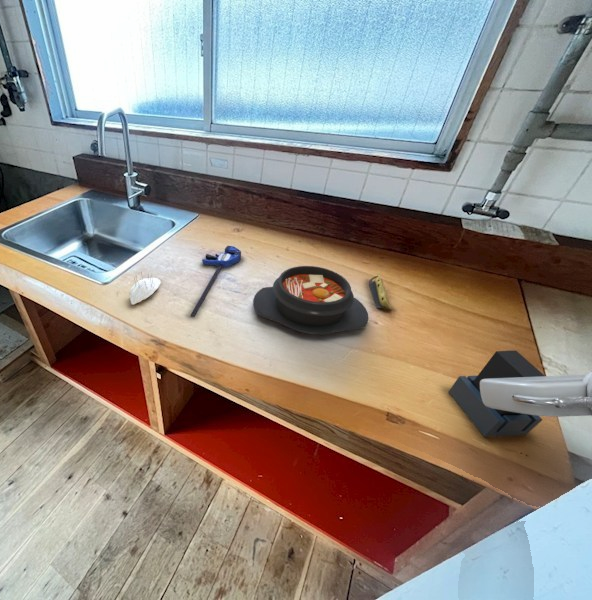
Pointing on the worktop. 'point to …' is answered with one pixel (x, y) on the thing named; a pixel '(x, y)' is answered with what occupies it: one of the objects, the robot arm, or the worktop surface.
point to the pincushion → (143, 289)
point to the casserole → (311, 302)
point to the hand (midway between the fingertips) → (517, 385)
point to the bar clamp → (219, 267)
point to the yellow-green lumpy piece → (379, 293)
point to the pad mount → (489, 412)
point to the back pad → (506, 370)
